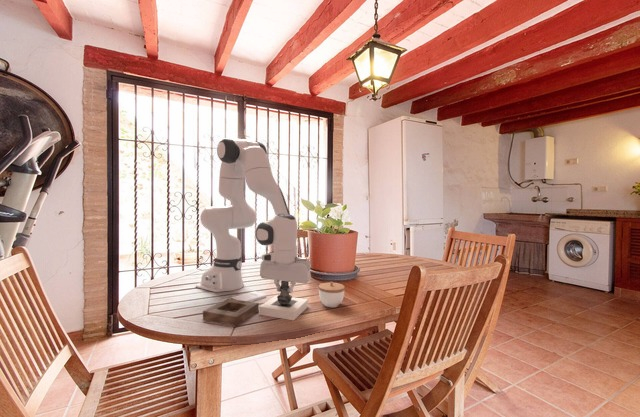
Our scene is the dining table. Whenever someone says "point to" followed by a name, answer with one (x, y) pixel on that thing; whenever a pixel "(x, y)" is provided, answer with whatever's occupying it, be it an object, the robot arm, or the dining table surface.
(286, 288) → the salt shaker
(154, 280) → the dining table surface
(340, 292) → the lidded jar
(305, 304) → the off-white holder
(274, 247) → the robot arm
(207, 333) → the dining table surface
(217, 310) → the walnut holder
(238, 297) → the external hard drive
